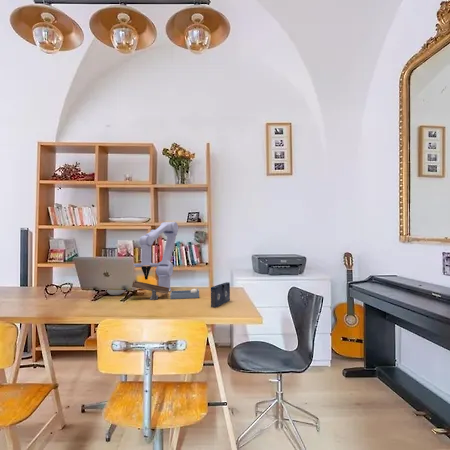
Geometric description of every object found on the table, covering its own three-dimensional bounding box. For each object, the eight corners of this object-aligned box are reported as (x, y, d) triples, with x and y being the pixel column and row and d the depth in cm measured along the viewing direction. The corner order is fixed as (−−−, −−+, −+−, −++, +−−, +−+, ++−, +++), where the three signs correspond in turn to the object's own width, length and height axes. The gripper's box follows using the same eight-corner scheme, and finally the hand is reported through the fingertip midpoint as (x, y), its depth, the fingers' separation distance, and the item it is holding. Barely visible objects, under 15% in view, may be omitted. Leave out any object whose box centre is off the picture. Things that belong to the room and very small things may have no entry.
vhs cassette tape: (226, 300, 187) (225, 282, 187) (230, 300, 186) (230, 282, 186) (209, 307, 170) (209, 287, 171) (215, 307, 169) (214, 287, 169)
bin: (170, 296, 199) (170, 289, 200) (198, 295, 202) (198, 288, 202) (170, 299, 191) (170, 291, 191) (199, 298, 193) (199, 290, 193)
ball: (198, 293, 199) (191, 296, 199) (195, 287, 199) (189, 289, 199) (198, 294, 195) (191, 297, 195) (196, 288, 195) (189, 290, 195)
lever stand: (151, 296, 199) (151, 286, 199) (158, 296, 199) (158, 286, 199) (149, 300, 188) (149, 289, 188) (157, 299, 189) (157, 289, 189)
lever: (134, 282, 203) (136, 277, 204) (168, 289, 206) (169, 284, 206) (131, 286, 189) (133, 281, 189) (167, 294, 191) (169, 288, 192)
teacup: (127, 292, 211) (127, 279, 211) (120, 296, 200) (120, 282, 200) (106, 292, 212) (106, 279, 212) (97, 296, 201) (97, 282, 201)
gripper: (132, 256, 197) (132, 280, 197) (158, 256, 199) (158, 279, 199) (134, 255, 204) (134, 278, 204) (159, 255, 206) (159, 278, 206)
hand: (146, 279), depth 202 cm, fingers closed
